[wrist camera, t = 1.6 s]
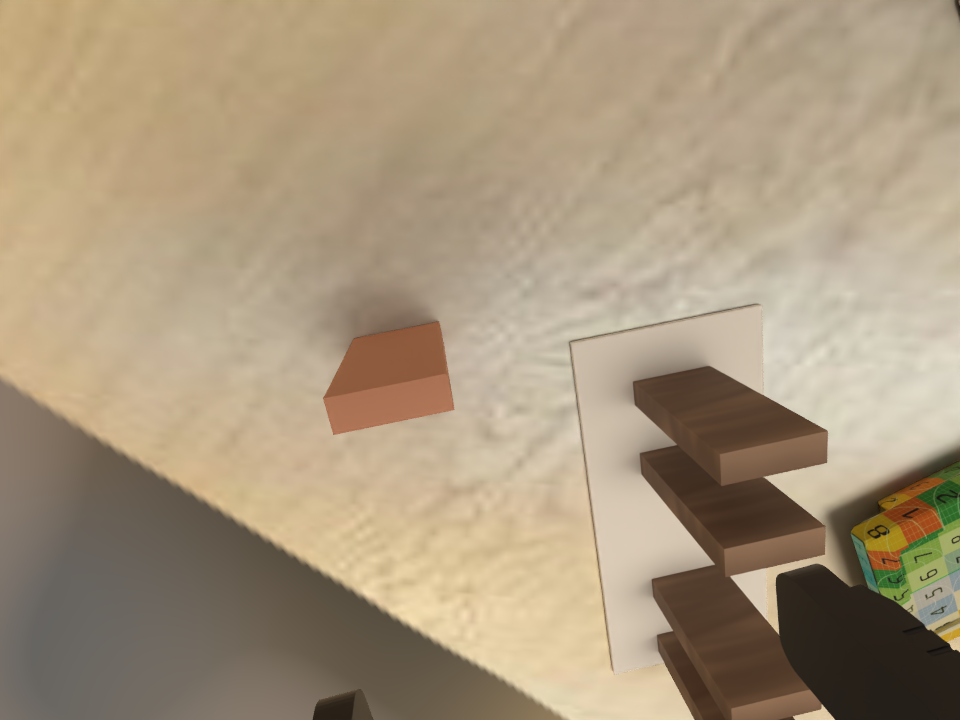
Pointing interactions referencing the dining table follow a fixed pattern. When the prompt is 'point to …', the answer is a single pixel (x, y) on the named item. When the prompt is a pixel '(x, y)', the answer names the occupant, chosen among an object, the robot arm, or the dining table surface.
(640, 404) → the domino
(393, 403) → the domino
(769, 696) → the domino
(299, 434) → the dining table surface
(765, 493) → the domino
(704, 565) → the mat
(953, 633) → the puzzle game
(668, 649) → the domino
